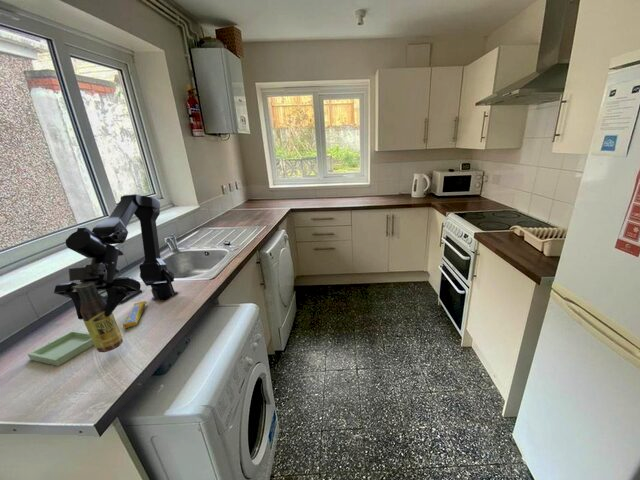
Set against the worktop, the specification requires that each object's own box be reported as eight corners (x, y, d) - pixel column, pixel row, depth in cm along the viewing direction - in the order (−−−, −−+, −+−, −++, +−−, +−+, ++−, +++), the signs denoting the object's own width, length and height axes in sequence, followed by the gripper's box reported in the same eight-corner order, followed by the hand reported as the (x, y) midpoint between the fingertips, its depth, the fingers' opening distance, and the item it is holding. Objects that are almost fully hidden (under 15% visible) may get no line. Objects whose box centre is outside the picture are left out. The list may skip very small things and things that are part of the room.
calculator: (122, 303, 111) (119, 296, 110) (96, 302, 113) (93, 295, 111) (142, 291, 119) (139, 285, 118) (118, 290, 121) (115, 284, 120)
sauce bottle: (109, 354, 79) (79, 291, 71) (91, 352, 80) (59, 290, 72) (130, 339, 85) (104, 279, 77) (113, 337, 86) (86, 278, 78)
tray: (75, 335, 92) (73, 330, 92) (101, 339, 89) (99, 334, 89) (30, 359, 82) (27, 354, 81) (58, 366, 79) (55, 360, 78)
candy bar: (137, 327, 95) (135, 322, 94) (122, 330, 93) (120, 325, 93) (147, 303, 109) (146, 299, 109) (134, 306, 108) (133, 302, 107)
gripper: (42, 256, 74) (25, 315, 69) (120, 249, 76) (110, 306, 71) (77, 271, 85) (65, 324, 79) (144, 265, 87) (137, 315, 81)
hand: (93, 317), depth 77 cm, fingers closed on sauce bottle, 6 cm apart
